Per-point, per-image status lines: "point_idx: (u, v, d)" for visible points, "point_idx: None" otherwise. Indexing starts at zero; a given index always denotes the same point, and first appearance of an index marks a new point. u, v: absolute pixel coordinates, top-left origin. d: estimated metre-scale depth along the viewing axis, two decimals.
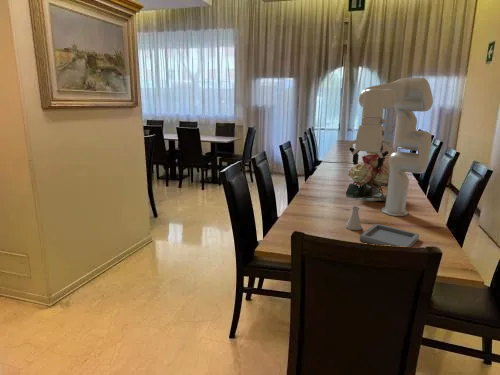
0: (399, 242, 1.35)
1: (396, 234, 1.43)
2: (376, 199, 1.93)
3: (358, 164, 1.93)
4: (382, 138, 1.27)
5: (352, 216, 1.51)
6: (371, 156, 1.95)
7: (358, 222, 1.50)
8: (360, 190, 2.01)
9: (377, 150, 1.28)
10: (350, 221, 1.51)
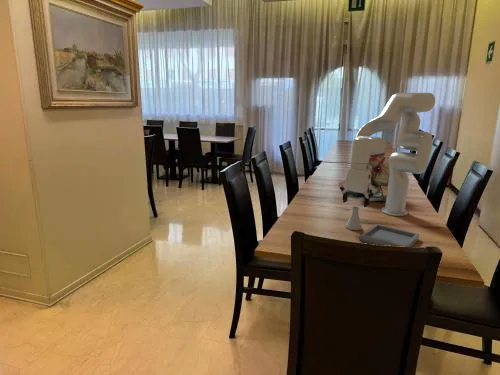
0: (399, 242, 1.35)
1: (396, 234, 1.43)
2: (376, 199, 1.93)
3: None
4: (368, 181, 1.44)
5: (352, 216, 1.51)
6: (371, 156, 1.95)
7: (358, 222, 1.50)
8: None
9: (364, 191, 1.44)
10: (350, 221, 1.51)
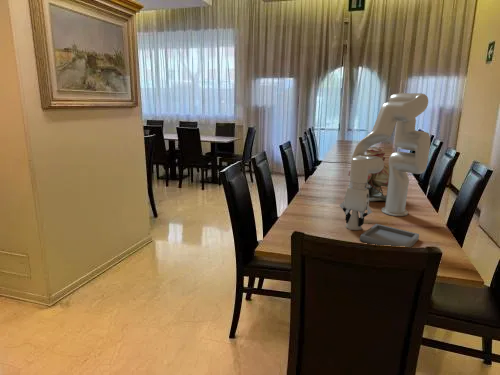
0: (399, 242, 1.35)
1: (396, 234, 1.43)
2: (376, 199, 1.93)
3: None
4: (367, 200, 1.46)
5: (352, 216, 1.51)
6: None
7: (358, 222, 1.50)
8: None
9: (362, 210, 1.46)
10: (350, 221, 1.51)
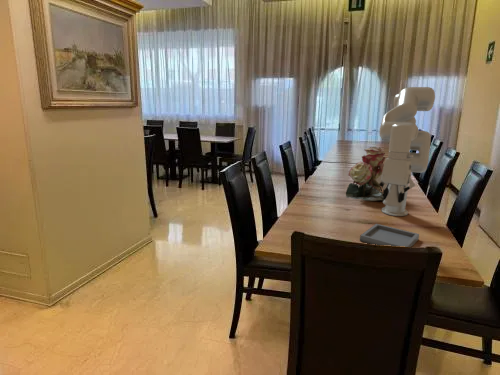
0: (399, 242, 1.35)
1: (396, 234, 1.43)
2: (376, 199, 1.94)
3: (358, 164, 1.93)
4: (409, 172, 1.29)
5: (391, 191, 1.34)
6: (371, 156, 1.96)
7: (398, 198, 1.33)
8: (360, 190, 2.02)
9: (404, 184, 1.30)
10: (389, 197, 1.34)
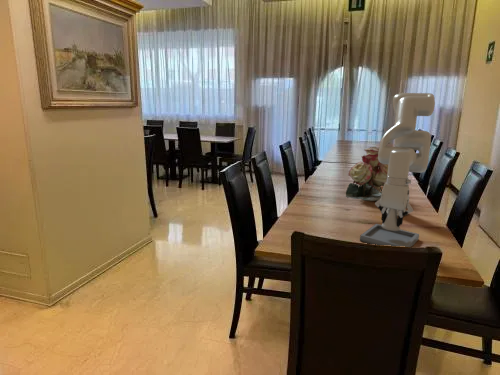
0: (399, 242, 1.35)
1: (396, 234, 1.43)
2: (376, 199, 1.94)
3: (358, 164, 1.94)
4: (407, 197, 1.31)
5: (390, 215, 1.36)
6: (371, 156, 1.96)
7: (396, 222, 1.35)
8: (360, 190, 2.02)
9: (402, 209, 1.32)
10: (388, 221, 1.36)
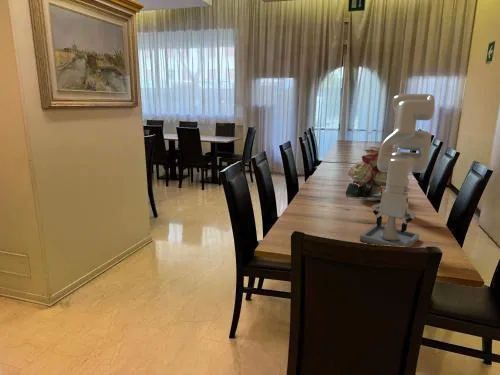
0: (399, 242, 1.35)
1: None
2: (376, 198, 1.94)
3: (358, 164, 1.94)
4: (406, 205, 1.32)
5: (388, 225, 1.37)
6: (371, 156, 1.96)
7: (395, 232, 1.37)
8: (360, 190, 2.02)
9: (401, 216, 1.33)
10: (386, 231, 1.38)
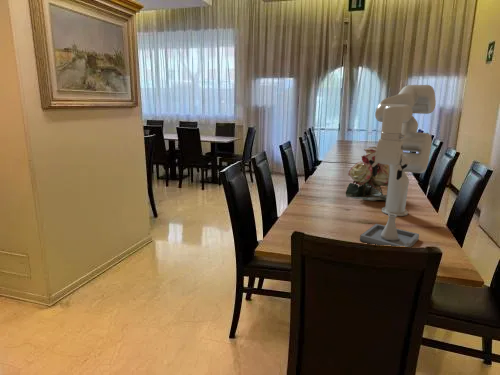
0: (399, 242, 1.35)
1: None
2: (376, 198, 1.94)
3: (358, 164, 1.94)
4: (401, 152, 1.35)
5: (388, 225, 1.37)
6: None
7: (395, 232, 1.37)
8: (360, 189, 2.03)
9: (396, 163, 1.36)
10: (386, 231, 1.38)
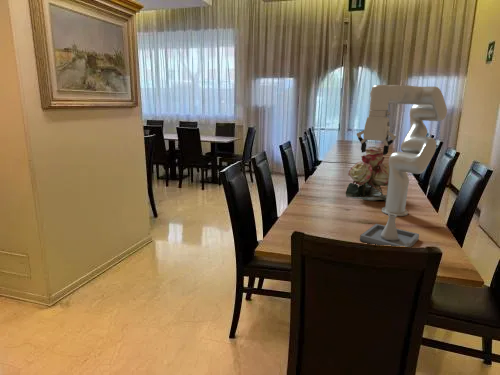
0: (399, 242, 1.35)
1: None
2: (376, 198, 1.94)
3: (358, 164, 1.94)
4: (387, 128, 1.44)
5: (388, 225, 1.37)
6: (370, 156, 1.97)
7: (395, 232, 1.37)
8: (360, 189, 2.03)
9: (383, 139, 1.45)
10: (386, 231, 1.38)
